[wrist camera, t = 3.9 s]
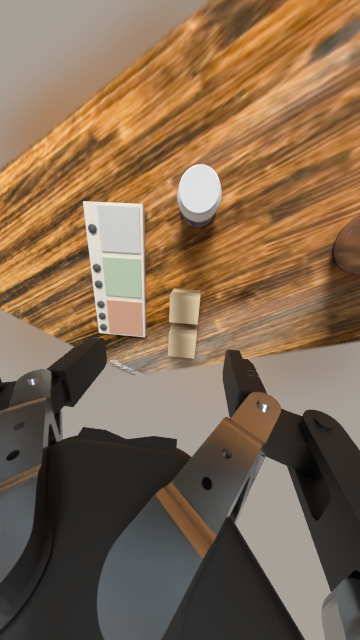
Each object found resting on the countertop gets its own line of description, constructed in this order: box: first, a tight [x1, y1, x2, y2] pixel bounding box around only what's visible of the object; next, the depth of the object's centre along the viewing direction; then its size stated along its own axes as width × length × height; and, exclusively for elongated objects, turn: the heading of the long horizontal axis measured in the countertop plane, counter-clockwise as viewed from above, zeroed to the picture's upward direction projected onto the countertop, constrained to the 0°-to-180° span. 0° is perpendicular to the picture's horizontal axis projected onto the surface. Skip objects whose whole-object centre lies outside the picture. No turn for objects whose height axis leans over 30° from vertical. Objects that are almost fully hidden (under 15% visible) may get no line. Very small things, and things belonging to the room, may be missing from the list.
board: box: [83, 201, 146, 337], centre depth 34 cm, size 10×24×1 cm, turn 177°
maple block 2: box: [168, 323, 197, 359], centre depth 36 cm, size 5×5×5 cm
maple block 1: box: [169, 289, 200, 325], centre depth 33 cm, size 5×5×5 cm
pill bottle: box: [177, 164, 222, 227], centre depth 25 cm, size 6×6×10 cm
